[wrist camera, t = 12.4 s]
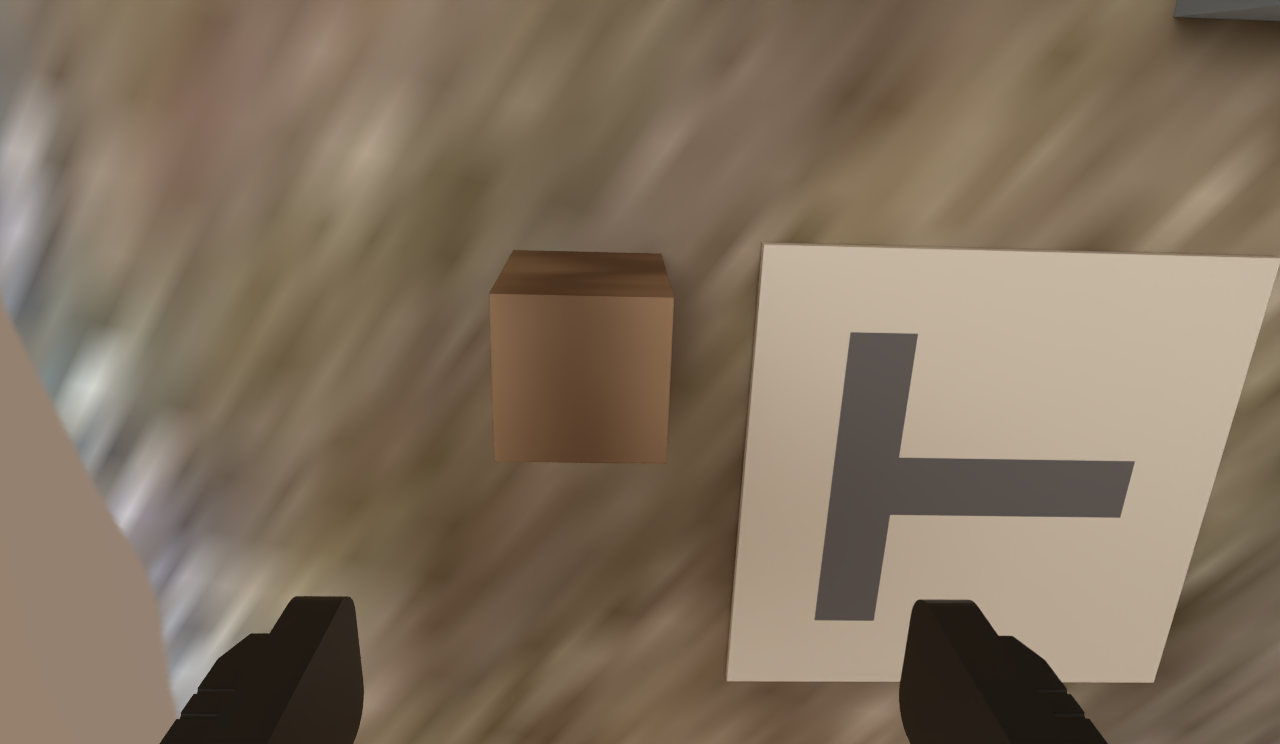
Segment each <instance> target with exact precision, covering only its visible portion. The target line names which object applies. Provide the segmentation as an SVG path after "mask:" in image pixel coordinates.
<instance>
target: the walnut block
mask: <svg viewBox="0 0 1280 744" xmlns="http://www.w3.org/2000/svg"><path fill="white" fill-rule="evenodd" d="M489 304H490V336H491V367H492V399H493V430H494V461H495V462H574V463H656V464H666V460H667V439H668V417H669V396H670V374H671V353H672V331H673V310H674V296H673V293H672V289H671V286H670V283H669V279H668V276H667V273H666V269H665V266H664V262H663V259H662V256H661V254H651V253H609V252H568V251H526V250H513V252H512V254H511V255H510V257H509V259H508V261H507V263H506V264H505V266H504V268H503V270H502V272H501V273H500V275H499V277H498V279H497V281H496V282H495V284H494V286H493V288H492V290H491V291H490V293H489Z"/></svg>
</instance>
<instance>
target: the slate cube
mask: <svg viewBox="0 0 1280 744" xmlns="http://www.w3.org/2000/svg"><path fill="white" fill-rule="evenodd" d="M1173 17H1189V18H1213V19H1238V20H1262V21H1280V0H1177V3H1176V7H1175V11H1174V16H1173Z"/></svg>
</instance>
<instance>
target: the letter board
mask: <svg viewBox="0 0 1280 744" xmlns="http://www.w3.org/2000/svg"><path fill="white" fill-rule="evenodd" d="M1279 264H1280V258H1278V257H1274V256H1253V255H1216V254H1179V253H1142V252H1105V251H1068V250H1031V249H994V248H957V247H920V246H883V245H846V244H809V243H772V242H762V249H761V260H760V272H759V284H758V296H757V308H756V320H755V332H754V344H753V356H752V367H751V379H750V391H749V403H748V415H747V427H746V439H745V451H744V462H743V474H742V486H741V498H740V510H739V522H738V534H737V546H736V558H735V569H734V581H733V593H732V605H731V617H730V629H729V641H728V653H727V664H726V679H727V681H845V682H900V680H901V674H902V667H903V661H904V655H905V649H906V642H907V636H908V630H909V623H910V617H911V612H912V608H913V605H914V603H915V602H916V601H917V600H919V599H949V600H972V601H973V602H975V603H976V604H977V606H978V607H979V608H980V610H981V611H982V613H983V614H984V616H985V617H986V618H987V620H988V621H989V623H990V624H991V626H992V627H993V629H994V630H995V631H996V633H997V634H998V636H1014V637H1015V638H1016V639H1018V640H1019V641H1020V642H1022V643H1023V644H1024V645H1026V646H1027V647H1028V648H1030V649H1031V650H1032V651H1034V652H1035V653H1036V654H1038V655H1039V656H1040V657H1042V658H1043V659H1044V660H1046V662H1047V663H1048V664H1049V666H1050V667H1051V668H1052V670H1053V671H1054V672H1055V674H1056V675H1057V676H1058V678H1059V679H1060V681H1061V682H1154V680H1155V676H1156V673H1157V670H1158V666H1159V663H1160V660H1161V656H1162V653H1163V650H1164V646H1165V643H1166V640H1167V636H1168V633H1169V630H1170V626H1171V623H1172V620H1173V616H1174V613H1175V610H1176V607H1177V603H1178V600H1179V597H1180V593H1181V590H1182V587H1183V583H1184V580H1185V577H1186V573H1187V570H1188V567H1189V563H1190V560H1191V557H1192V553H1193V550H1194V547H1195V543H1196V540H1197V537H1198V533H1199V530H1200V527H1201V523H1202V520H1203V517H1204V514H1205V510H1206V507H1207V504H1208V500H1209V497H1210V494H1211V490H1212V487H1213V484H1214V480H1215V477H1216V474H1217V470H1218V467H1219V464H1220V460H1221V457H1222V454H1223V450H1224V447H1225V444H1226V440H1227V437H1228V434H1229V430H1230V427H1231V424H1232V420H1233V417H1234V414H1235V411H1236V407H1237V404H1238V401H1239V397H1240V394H1241V391H1242V387H1243V384H1244V381H1245V377H1246V374H1247V371H1248V367H1249V364H1250V361H1251V357H1252V354H1253V351H1254V347H1255V344H1256V341H1257V337H1258V334H1259V331H1260V327H1261V324H1262V321H1263V318H1264V314H1265V311H1266V308H1267V304H1268V301H1269V298H1270V294H1271V291H1272V288H1273V284H1274V281H1275V278H1276V274H1277V271H1278V268H1279Z"/></svg>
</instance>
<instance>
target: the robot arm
mask: <svg viewBox="0 0 1280 744" xmlns="http://www.w3.org/2000/svg"><path fill="white" fill-rule="evenodd" d="M363 699H364V686H363V676H362V666H361V657H360V648H359V639H358V630H357V620H356V612H355V606H354V602H353V600H352V599H351V597H322V596H296V597H294V598H293V599H292V600H291V601H290V602H289V603H288V605H287V607H286V608H285V610H284V611H283V613H282V615H281V616H280V618H279V619H278V621H277V623H276V624H275V626H274V627H273V629H272V631H271V632H270V634H250V635H248V636H247V637H246V638H244V639H243V640H242V641H240V642H239V643H238V644H237V645H235V646H234V647H233V648H231V649H230V650H229V651H227V652H226V653H225V654H224V655H222V656H221V657H220V658H218V660H217V661H216V662H215V664H214V665H213V667H212V668H211V670H210V671H209V673H208V674H207V676H206V677H205V678H204V680H203V681H202V683H201V684H200V686H199V687H198V692H197V694H193V696H192V697H191V699H190V700H189V702H188V703H187V705H186V706H185V707H184V709H183V710H182V712H181V717H180V719H176V720H175V722H174V723H173V725H172V726H171V728H170V729H169V731H168V732H167V734H166V735H165V736H164V738H163V739H162V741H161V743H160V744H353V743H354V740H355V738H356V735H357V732H358V729H359V725H360V721H361V716H362V709H363ZM899 703H900V712H901V718H902V722H903V726H904V729H905V732H906V735H907V737H908V739H909V741H910V744H1108V743H1107V742H1106V741H1105V739H1104V738H1103V737H1102V735H1101V734H1100V733H1099V731H1098V730H1097V729H1096V727H1095V726H1094V725H1093V723H1092V722H1091V721H1090V719H1086V718H1085V716H1084V711H1083V710H1082V709H1081V707H1080V706H1079V705H1078V703H1077V702H1076V701H1075V699H1074V698H1073V697H1072V695H1071V694H1067V689H1066V687H1065V686H1064V685H1063V683H1062V682H1061V681H1060V679H1059V678H1058V676H1057V675H1056V674H1055V672H1054V671H1053V670H1052V668H1051V667H1050V666H1049V664H1048V663H1047V662H1046V660H1044V659H1043V658H1042V657H1040V656H1039V655H1038V654H1036V653H1035V652H1034V651H1032V650H1031V649H1030V648H1028V647H1027V646H1026V645H1024V644H1023V643H1022V642H1020V641H1019V640H1018V639H1016V638H1015V637H1014V636H998V634H997V633H996V631H995V630H994V629H993V627H992V626H991V624H990V623H989V621H988V620H987V618H986V617H985V616H984V614H983V613H982V611H981V610H980V608H979V607H978V606H977V604H976V603H975V602H973V601H972V600H949V599H919V600H917V601H916V602H915V603H914V605H913V608H912V612H911V617H910V623H909V630H908V636H907V642H906V649H905V655H904V661H903V667H902V674H901V680H900V688H899Z"/></svg>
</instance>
